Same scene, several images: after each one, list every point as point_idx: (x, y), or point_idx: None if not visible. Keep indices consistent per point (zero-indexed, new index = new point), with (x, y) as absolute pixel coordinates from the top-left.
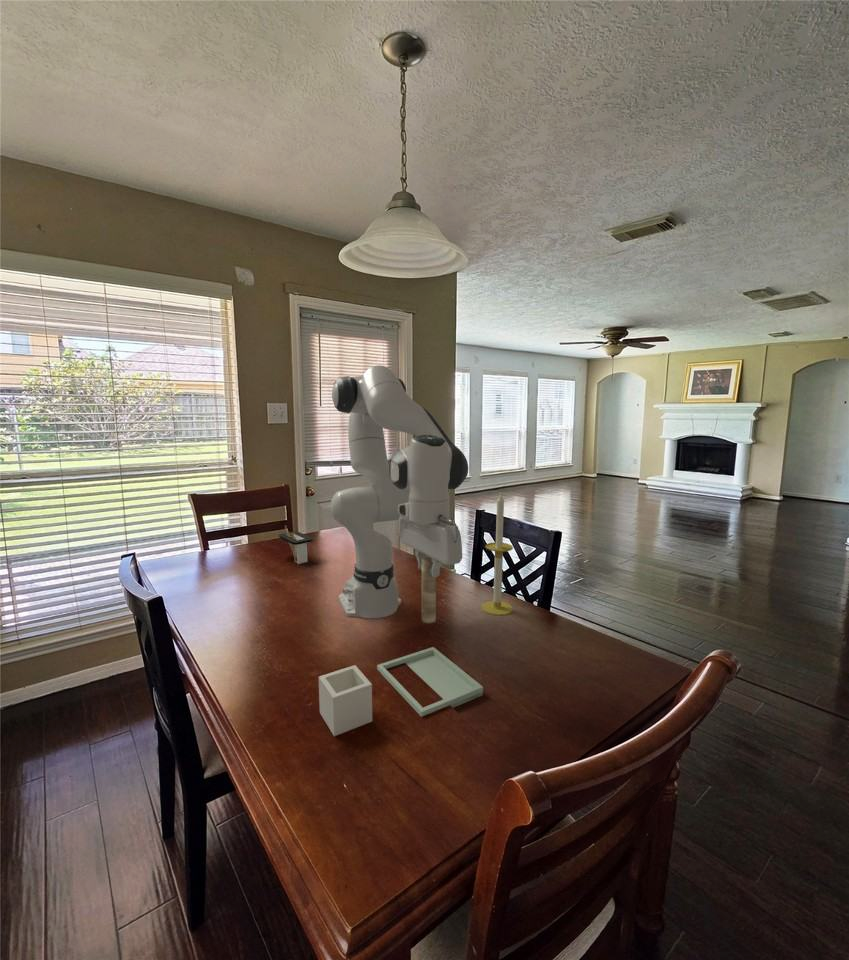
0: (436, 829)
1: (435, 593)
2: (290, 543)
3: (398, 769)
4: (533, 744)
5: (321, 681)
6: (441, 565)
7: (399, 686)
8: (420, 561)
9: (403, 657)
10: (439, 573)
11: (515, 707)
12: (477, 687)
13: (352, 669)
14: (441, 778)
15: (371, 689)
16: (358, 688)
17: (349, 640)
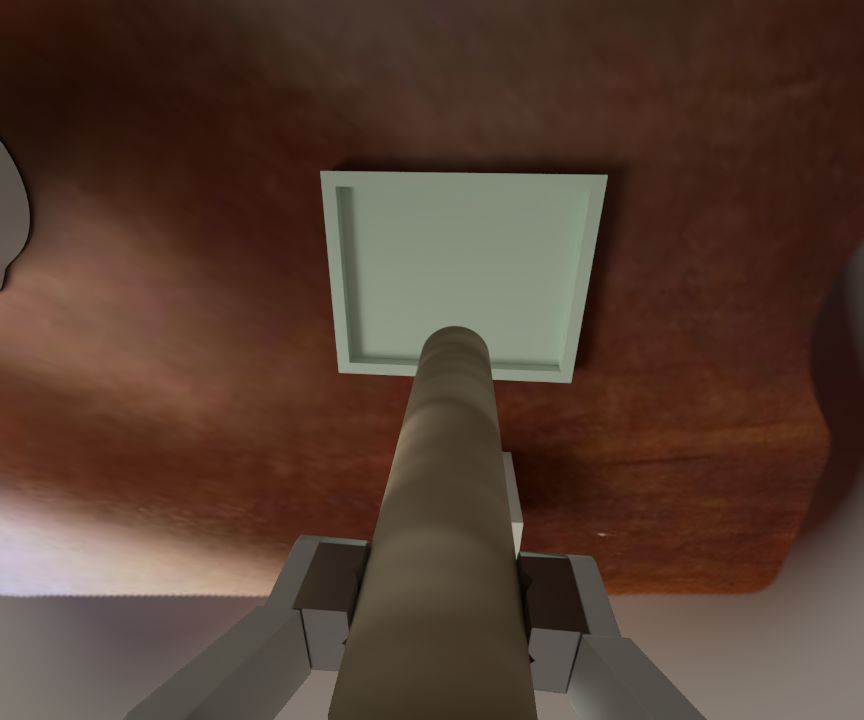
0: (774, 480)
1: (491, 416)
2: None
3: (637, 466)
4: (832, 199)
5: None
6: (677, 689)
7: None
8: (304, 674)
9: (336, 294)
10: (596, 572)
11: (709, 124)
12: (596, 193)
13: None
14: (713, 424)
15: (520, 513)
16: (517, 548)
17: (158, 350)
